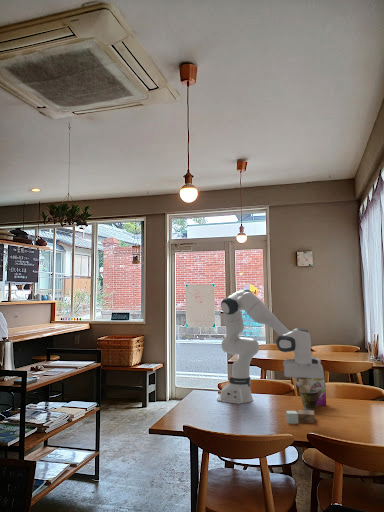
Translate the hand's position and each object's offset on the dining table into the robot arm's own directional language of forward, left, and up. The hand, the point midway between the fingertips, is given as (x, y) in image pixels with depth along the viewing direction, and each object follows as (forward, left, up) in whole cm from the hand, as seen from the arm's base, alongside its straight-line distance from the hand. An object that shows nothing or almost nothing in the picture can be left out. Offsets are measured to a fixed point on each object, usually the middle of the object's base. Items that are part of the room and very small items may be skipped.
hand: (304, 386), depth 201 cm
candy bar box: (+5, +32, -17) cm, 37 cm away
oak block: (0, 0, -3) cm, 3 cm away
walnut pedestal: (0, 0, -17) cm, 17 cm away
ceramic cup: (+1, +21, -17) cm, 28 cm away
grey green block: (-7, -5, -17) cm, 19 cm away
